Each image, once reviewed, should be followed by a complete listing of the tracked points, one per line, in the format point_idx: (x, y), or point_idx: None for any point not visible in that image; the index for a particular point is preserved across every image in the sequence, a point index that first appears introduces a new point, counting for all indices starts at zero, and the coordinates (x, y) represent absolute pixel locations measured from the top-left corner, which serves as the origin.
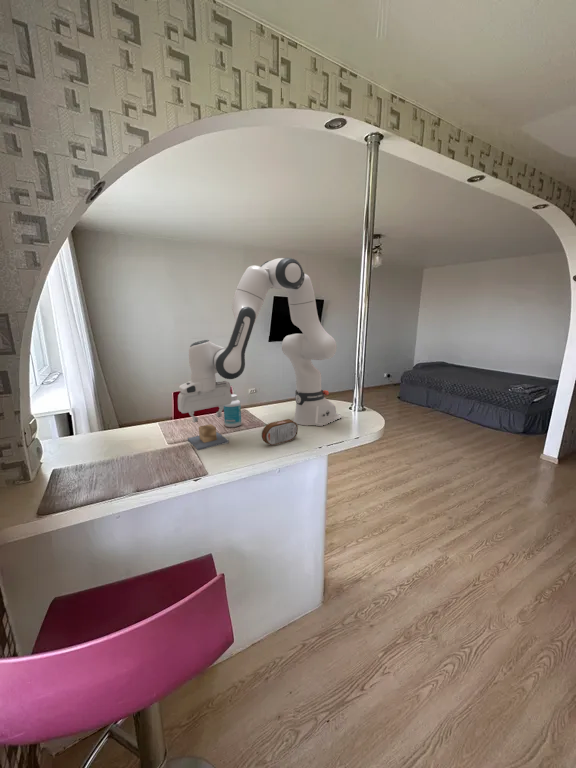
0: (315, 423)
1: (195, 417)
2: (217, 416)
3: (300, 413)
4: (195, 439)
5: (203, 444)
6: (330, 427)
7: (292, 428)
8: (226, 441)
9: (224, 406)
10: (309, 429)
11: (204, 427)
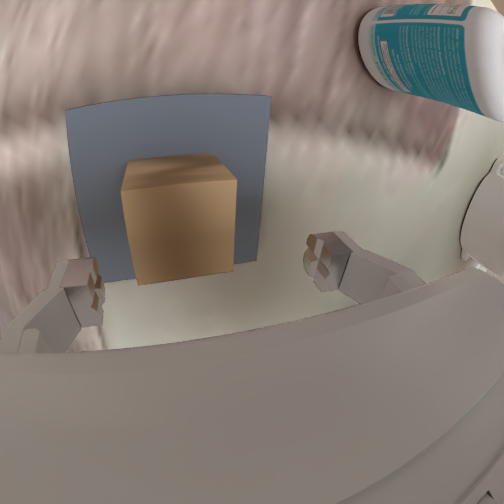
0: (466, 253)
1: (80, 313)
2: (309, 247)
3: (488, 238)
4: (102, 158)
5: (129, 256)
6: (459, 269)
7: None
8: (244, 261)
9: (463, 42)
10: (445, 261)
11: (160, 235)
